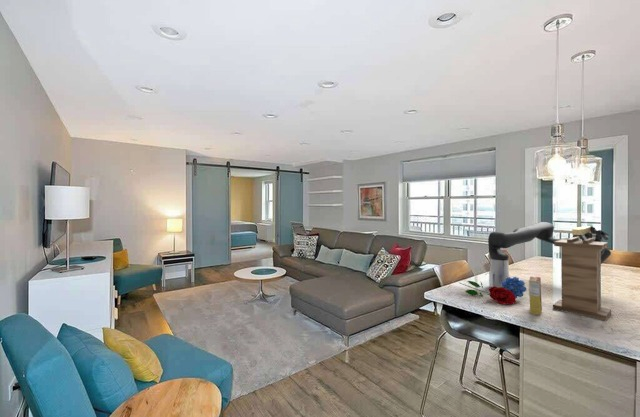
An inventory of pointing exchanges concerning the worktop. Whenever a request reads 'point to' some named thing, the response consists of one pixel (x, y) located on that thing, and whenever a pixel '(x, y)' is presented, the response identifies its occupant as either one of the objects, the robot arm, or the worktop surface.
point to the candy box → (535, 295)
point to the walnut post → (581, 278)
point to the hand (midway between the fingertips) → (586, 227)
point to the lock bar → (581, 230)
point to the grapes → (514, 286)
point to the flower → (495, 293)
